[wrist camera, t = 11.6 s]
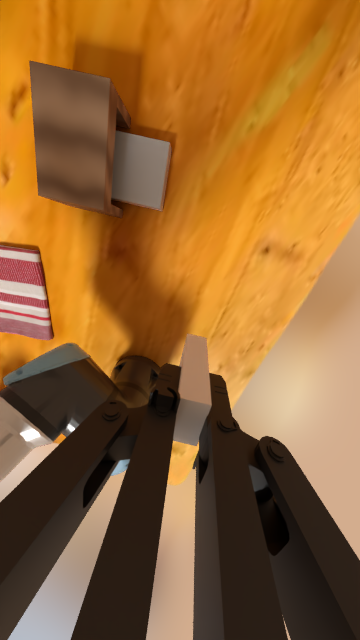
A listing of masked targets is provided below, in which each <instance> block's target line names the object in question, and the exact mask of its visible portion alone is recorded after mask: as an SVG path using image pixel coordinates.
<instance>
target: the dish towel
mask: <svg viewBox="0 0 360 640" xmlns="http://www.w3.org/2000/svg"><path fill="white" fill-rule="evenodd" d="M0 332H6V333H12V334H20V335H24V336H28V337H32V338H36V339H42V340H51V339H53V334H52V328H51V319H50V313H49V305H48V299H47V295H46V290H45V280H44V275H43V268H42V264H41V260H40V252H39V250H29V249H23V248H17V247H9V246H3V245H0Z"/></svg>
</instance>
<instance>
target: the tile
mask: <svg viewBox="0 0 360 640" xmlns="http://www.w3.org/2000/svg"><path fill="white" fill-rule="evenodd" d="M171 152H172V148H171V145H170V142H166V141H162V140H157V139H152V138H148V137H143V136H139V135H134V134H130V133H125V132H121V131H116V130H115V145H114V161H113V177H112V193H111V200H115V201H119V202H124V203H128V204H132V205H137V206H141V207H145V208H150V209H154V210H159V211H163V204H164V198H165V191H166V185H167V178H168V172H169V165H170V159H171Z"/></svg>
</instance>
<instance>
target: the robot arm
mask: <svg viewBox="0 0 360 640" xmlns="http://www.w3.org/2000/svg"><path fill="white" fill-rule="evenodd" d="M90 357H91V356H90V355H88V354H87V353H85V352H84V351H83V350H82V349H81V348H80V347H79V346H78V345H77V344H75V343H66V344H63V345H61V346H59V347H57V348H55V349H53V350H51V351H49V352H47V353H45V354H43V355H41V356H39V357H38V358H36V359H34V360H32V361H30V362H28V363H27V364H25V365H23V366H22V367H20V368H18V369H17V370H15V371H13V372H11V373H9V374H8V375H6V376H5V377H4V378H3V381H4V385H8V386H7V387H6V388H4V389H3V390H1V391H0V482H1V481H2V480H3V479H4V478H5V477H6V476H7V475H8V474H9V473H10V472H11V471H12V470H13V469H14V468H15V467H16V466H17V465H18V464H19V463H20V462H21V461H22V459H24V458H25V457H26V456H27V455H28V454H29V453H30V452H31V451H32V449H34V448H36V447H39V446H43V445H48V444H51V443H52V442H54V441H55V439H56V438H57V437H58V436H59V435H60V434H61V433H62V434H63V435H65V436H66V438H65V439H64V440H63V441H62V442H61V443H60V444H59V445H58V447H56V448H55V449H54V450H53V451H52V452H51V453H50V454H49V455H48V456H47V457H46V458H45V459H44V460H43V461H42V462H41V463H40V464H39V465H38V466H37V467H36V468H35V469H34V470H33V471H32V472H31V473H30V474H29V475H28V476H27V477H26V478H25V479H24V480H23V481H22V482H21V483H20V484H19V485H18V486H17V487H16V488H15V489H14V490H13V491H12V492H11V493H10V494H9V495H8V496H6V497H5V499H3V500H2V501H1V502H0V640H7V639H8V638H9V636H10V635H11V633H12V631H13V630H14V628H15V627H16V625H17V623H18V622H19V620H20V619H21V617H22V616H23V614H24V612H25V611H26V609H27V608H28V606H29V604H30V603H31V601H32V599H33V598H34V597H35V595H36V593H37V592H38V590H39V589H40V587H41V585H42V584H43V582H44V581H45V579H46V577H47V576H48V574H49V572H50V571H51V570H52V568H53V566H54V565H55V563H56V562H57V560H58V558H59V557H60V555H61V554H62V552H63V550H64V549H65V547H66V546H67V544H68V542H69V541H70V539H71V538H72V536H73V534H74V533H75V531H76V530H77V528H78V527H79V525H80V523H81V522H82V520H83V519H84V517H85V516H86V514H87V512H88V510H89V509H90V508H91V506H92V504H93V503H94V501H95V500H96V498H97V496H98V494H99V493H100V492H101V490H102V489H103V486H104V485H105V484H106V482H107V480H108V479H109V477H110V476H113V475H117V474H120V473H122V472H124V471H125V470H126V473H125V476H124V479H123V482H122V485H121V489H120V492H119V494H118V498H117V501H116V504H115V507H114V510H113V513H112V516H111V519H110V522H109V525H108V528H107V531H106V534H105V537H104V540H103V543H102V546H101V549H100V552H99V555H98V558H97V561H96V564H95V567H94V570H93V573H92V576H91V579H90V582H89V586H88V589H87V592H86V595H85V598H84V601H83V604H82V607H81V610H80V613H79V616H78V620H77V622H76V625H75V628H74V631H73V634H72V637H71V640H146V634H147V626H148V619H149V611H150V605H151V597H152V589H153V582H154V575H155V568H156V560H157V553H158V546H159V539H160V531H161V523H162V517H163V509H164V502H165V495H166V487H167V480H168V473H169V465H170V458H171V451H172V443H173V440H174V441H178V442H182V443H186V444H190V445H194V446H197V444H198V441H199V451H198V453H197V456H196V458H195V461H194V464H193V468H192V469H195V467H196V505H195V508H196V509H195V562H194V564H195V565H194V566H195V567H194V621H193V640H288V638H287V634H286V630H285V625H284V621H285V624H286V627H287V630H288V633H289V636H290V638H291V640H360V560H359V559H358V557H357V555H356V554H355V552H354V551H353V549H352V548H351V546H350V545H349V543H348V541H347V540H346V539H345V537H344V535H343V534H342V532H341V531H340V529H339V528H338V526H337V524H336V523H335V521H334V520H333V518H332V517H331V515H330V514H329V512H328V510H327V509H326V507H325V506H324V504H323V503H322V501H321V500H320V498H319V497H318V495H317V493H316V492H315V490H314V489H313V487H312V486H311V484H310V482H309V481H308V480H307V478H306V476H305V475H304V473H303V472H302V470H301V468H300V467H299V465H298V464H297V462H296V461H295V459H294V458H293V456H292V455H291V453H290V452H289V450H288V449H287V448H286V447H285V445H283V444H282V443H281V442H280V441H278V440H277V439H275V438H273V437H269V436H265V437H262V438H261V439H260V441H259V440H257V439H255V438H253V437H251V436H250V435H248V434H246V433H245V432H243V431H242V430H241V429H240V427H239V425H238V423H237V421H236V420H235V419H234V418H233V417H232V413H231V408H230V403H229V398H228V393H227V388H226V383H225V381H224V379H223V378H222V376H220V375H216V374H212V373H209V365H208V353H207V340H206V338H204V337H200V336H196V335H192V334H187V337H186V341H185V345H184V349H183V353H182V357H181V361H180V366H176V365H172V364H168V363H166V364H165V365H164V366H162V367H161V369H160V368H159V366H158V365H157V364H156V363H154V362H153V361H151V360H150V359H147V358H145V357H141V356H129V357H125V358H123V359H122V360H120V361H119V362H118V363H117V364H116V366H115V367H114V369H113V370H112V373H111V376H110V378H109V377H108V376H107V375H106V374H105V373H104V372H103V371H102V370H101V369H100V367H99V366H98V365H97V364H96V363H95V362H94V361H93V360H92V359H91V358H90ZM282 615H283V616H282ZM283 618H284V620H283Z"/></svg>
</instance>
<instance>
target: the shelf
mask: <svg viewBox="0 0 360 640" xmlns="http://www.w3.org/2000/svg"><path fill="white" fill-rule="evenodd" d="M30 76H31V92H32V107H33V122H34V137H35V152H36V167H37V182H38V195H39V196H42V197H45V198H48V199H51V200H54V201H57V202H60V203H63V204H66V205H69V206H72V207H77V208H81V209H85V210H89V211H94V212H98V213H102V214H106V215H111V216H115V217H119V218H122V216H123V210H122V209H120V208H118V207H116V206H114V205H112V204H111V193H112V177H113V161H114V145H115V129H116V126H119V127H124V128H128V129H130V122H131V117H130V115H129V114H128V112H127V110H126V108H125V106H124V104H123V102H122V100H121V98H120V96H119V95H118V93H117V91H116V89H115V87H114V85H113V83H112V81H111V79H110V78H106V77H101V76H97V75H92V74H88V73H83V72H79V71H74V70H70V69H65V68H61V67H56V66H52V65H47V64H43V63H38V62H34V61H30Z"/></svg>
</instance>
